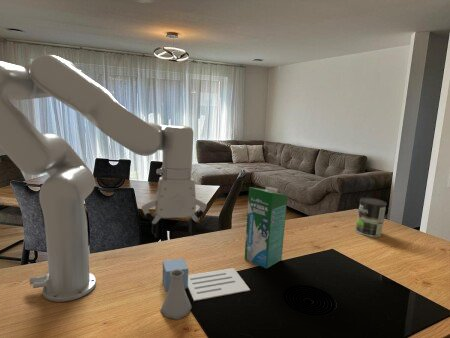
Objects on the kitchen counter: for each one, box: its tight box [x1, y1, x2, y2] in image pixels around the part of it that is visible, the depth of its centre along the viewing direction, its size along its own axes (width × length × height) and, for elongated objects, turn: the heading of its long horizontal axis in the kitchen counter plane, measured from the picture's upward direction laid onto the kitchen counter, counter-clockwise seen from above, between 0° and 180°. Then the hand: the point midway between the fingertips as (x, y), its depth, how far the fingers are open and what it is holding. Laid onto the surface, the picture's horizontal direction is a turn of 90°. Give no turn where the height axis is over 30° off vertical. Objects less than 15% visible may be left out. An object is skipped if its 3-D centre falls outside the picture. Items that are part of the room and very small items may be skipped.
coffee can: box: [355, 197, 387, 238], centre depth 127 cm, size 10×10×14 cm
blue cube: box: [162, 258, 189, 293], centre depth 83 cm, size 6×6×6 cm
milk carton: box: [244, 186, 288, 270], centre depth 98 cm, size 9×9×25 cm
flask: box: [159, 269, 193, 320], centre depth 72 cm, size 7×7×10 cm
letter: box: [187, 267, 251, 302], centre depth 85 cm, size 16×12×1 cm
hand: (173, 234), depth 81 cm, fingers open, 9 cm apart
